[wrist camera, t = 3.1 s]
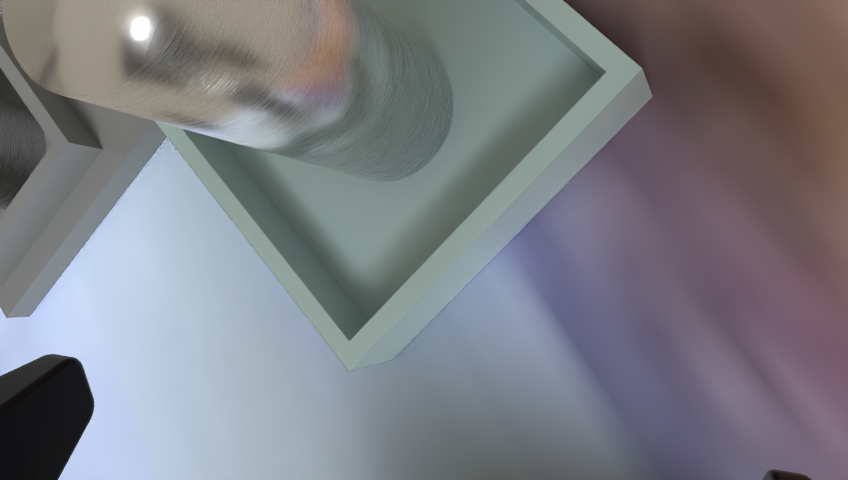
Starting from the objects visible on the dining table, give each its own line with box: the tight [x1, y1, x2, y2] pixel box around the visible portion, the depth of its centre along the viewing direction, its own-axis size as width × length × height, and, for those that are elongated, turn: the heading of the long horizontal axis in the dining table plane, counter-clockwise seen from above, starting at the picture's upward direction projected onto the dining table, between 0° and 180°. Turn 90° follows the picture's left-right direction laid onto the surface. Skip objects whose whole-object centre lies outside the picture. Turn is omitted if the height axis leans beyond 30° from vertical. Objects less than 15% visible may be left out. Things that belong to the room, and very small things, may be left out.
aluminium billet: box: [1, 0, 454, 182], centre depth 16 cm, size 4×4×11 cm
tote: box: [155, 0, 653, 371], centre depth 21 cm, size 11×11×3 cm
